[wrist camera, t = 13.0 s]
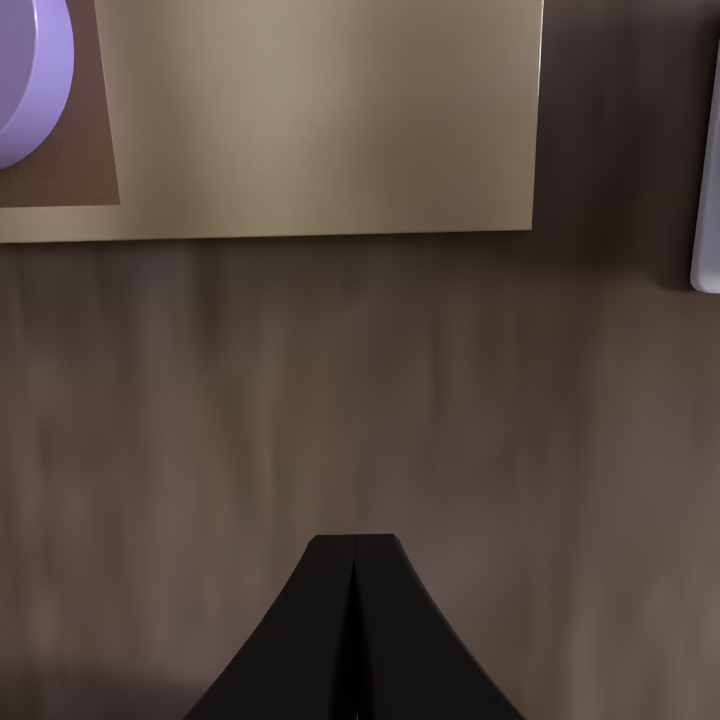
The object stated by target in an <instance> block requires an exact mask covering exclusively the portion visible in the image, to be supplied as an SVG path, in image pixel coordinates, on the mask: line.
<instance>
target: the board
mask: <svg viewBox="0 0 720 720" xmlns="http://www.w3.org/2000/svg"><path fill="white" fill-rule="evenodd" d="M65 2H66V5H67V9H68V12H69V16H70V21H71V26H72V32H73V42H74V68H73V76H72V82H71V88H70V92H69V95H68V98H67V101H66V104H65V107H64V109H63V111H62V113H61V115H60V118H59V120H58V122H57V123H56V125H55V126H54V128H53V129H52V131H51V132H50V134H49V135H48V136H47V137H46V138H45V140H44V141H43V142H42V143H41V144H40V145H39V146H38V147H37V148H36V149H35V150H33V151H32V152H31V153H30V154H29V155H27V156H26V157H25V158H23V159H21V160H20V161H18V162H16V163H15V164H13V165H11V166H9V167H6V168H4V169H1V170H0V243H31V242H71V241H111V240H150V239H190V238H230V237H270V236H310V235H350V234H390V233H430V232H470V231H509V230H531V228H532V213H533V194H534V174H535V155H536V136H537V117H538V98H539V79H540V59H541V40H542V21H543V2H544V0H65Z"/></svg>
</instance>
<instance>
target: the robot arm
mask: <svg viewBox="0 0 720 720" xmlns="http://www.w3.org/2000/svg"><path fill="white" fill-rule="evenodd" d="M690 282H691V284H692V286H693V288H695V289H696V290H697V291H701V292H706V293H720V40H719V48H718V56H717V64H716V72H715V80H714V88H713V96H712V104H711V112H710V120H709V128H708V136H707V144H706V152H705V160H704V168H703V177H702V185H701V193H700V201H699V209H698V217H697V225H696V233H695V241H694V249H693V257H692V265H691V273H690ZM357 716H358V720H527V719H526V718H525V717H524V716H523V715H522V714H521V713H520V712H519V711H518V710H517V708H516V707H515V706H514V705H513V704H512V703H511V702H510V700H509V699H508V698H507V697H506V696H505V695H504V693H503V692H502V691H501V690H500V689H499V688H498V686H497V685H496V684H495V683H494V682H493V680H492V679H491V678H490V677H489V676H488V674H487V673H486V672H485V671H484V669H483V668H482V667H481V665H480V664H479V663H478V662H477V660H476V659H475V658H474V657H473V655H472V654H471V653H470V652H469V650H468V649H467V648H466V646H465V645H464V644H463V642H462V641H461V640H460V638H459V637H458V636H457V634H456V633H455V631H454V630H453V629H452V627H451V626H450V624H449V623H448V621H447V620H446V619H445V617H444V616H443V614H442V613H441V611H440V610H439V608H438V607H437V605H436V604H435V603H434V601H433V600H432V598H431V597H430V595H429V593H428V592H427V590H426V589H425V587H424V586H423V584H422V582H421V580H420V579H419V577H418V575H417V574H416V572H415V570H414V569H413V567H412V565H411V563H410V561H409V559H408V558H407V556H406V554H405V552H404V549H403V547H402V545H401V543H400V540H399V539H398V538H397V537H396V536H395V535H394V534H352V535H316V536H315V537H314V538H313V539H312V540H311V541H310V542H309V543H308V545H307V548H306V550H305V552H304V554H303V555H302V557H301V559H300V561H299V563H298V565H297V566H296V568H295V570H294V571H293V573H292V575H291V576H290V578H289V580H288V581H287V583H286V585H285V586H284V588H283V589H282V591H281V592H280V594H279V595H278V597H277V598H276V600H275V601H274V603H273V604H272V606H271V607H270V609H269V610H268V612H267V613H266V615H265V616H264V618H263V619H262V621H261V622H260V623H259V625H258V626H257V628H256V629H255V630H254V632H253V633H252V634H251V636H250V637H249V638H248V640H247V641H246V642H245V644H244V645H243V646H242V647H241V649H240V650H239V651H238V653H237V654H236V655H235V657H234V658H233V659H232V660H231V662H230V663H229V664H228V666H227V667H226V668H225V669H224V671H223V672H222V673H221V675H220V676H219V677H218V678H217V680H216V681H215V682H214V683H213V684H212V685H211V687H210V688H209V689H208V690H207V691H206V693H205V694H204V695H203V696H202V697H201V699H200V700H199V701H198V702H197V703H196V704H195V705H194V707H193V708H192V709H191V710H190V711H189V712H188V713H187V714H186V716H185V717H184V718H183V719H182V720H356V718H357Z"/></svg>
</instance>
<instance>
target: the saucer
mask: <svg viewBox="0 0 720 720" xmlns="http://www.w3.org/2000/svg"><path fill="white" fill-rule="evenodd" d="M73 68H74V42H73V32H72V26H71V21H70V16H69V12H68V9H67V5H66V2H65V0H0V170H1V169H4V168H6V167H9V166H11V165H13V164H15V163H16V162H18V161H20V160H21V159H23V158H25V157H26V156H27V155H29V154H30V153H31V152H32V151H33V150H35V149H36V148H37V147H38V146H39V145H40V144H41V143H42V142H43V141H44V140H45V138H46V137H47V136H48V135H49V134H50V132H51V131H52V129H53V128H54V126H55V125H56V123H57V122H58V120H59V118H60V115H61V113H62V111H63V109H64V107H65V104H66V101H67V98H68V95H69V92H70V88H71V82H72V76H73Z"/></svg>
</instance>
